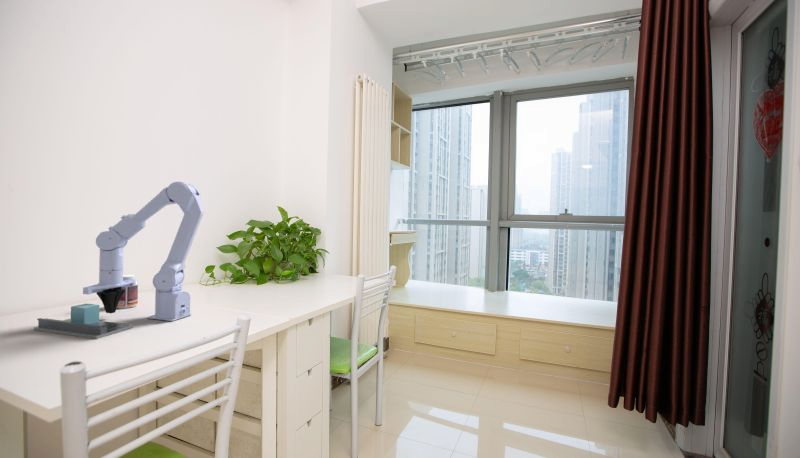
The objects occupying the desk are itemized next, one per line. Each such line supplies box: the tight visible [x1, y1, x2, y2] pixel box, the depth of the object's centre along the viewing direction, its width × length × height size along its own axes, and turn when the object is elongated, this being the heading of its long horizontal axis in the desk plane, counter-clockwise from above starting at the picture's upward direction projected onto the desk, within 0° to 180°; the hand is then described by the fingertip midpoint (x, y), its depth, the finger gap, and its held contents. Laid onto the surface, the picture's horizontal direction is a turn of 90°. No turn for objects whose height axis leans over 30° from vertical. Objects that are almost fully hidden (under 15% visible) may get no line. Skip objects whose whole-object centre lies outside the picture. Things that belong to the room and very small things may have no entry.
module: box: [70, 303, 100, 324], centre depth 101 cm, size 5×4×5 cm
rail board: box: [33, 317, 134, 340], centre depth 98 cm, size 22×10×3 cm, turn 78°
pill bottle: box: [116, 274, 139, 309], centre depth 122 cm, size 6×6×11 cm
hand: (110, 312), depth 108 cm, fingers closed
